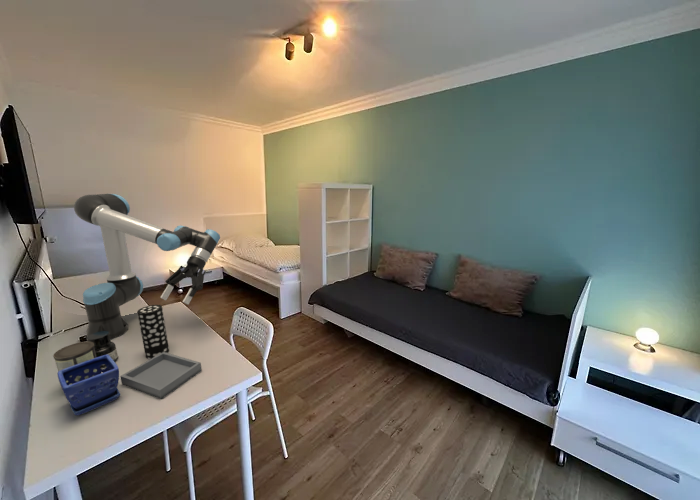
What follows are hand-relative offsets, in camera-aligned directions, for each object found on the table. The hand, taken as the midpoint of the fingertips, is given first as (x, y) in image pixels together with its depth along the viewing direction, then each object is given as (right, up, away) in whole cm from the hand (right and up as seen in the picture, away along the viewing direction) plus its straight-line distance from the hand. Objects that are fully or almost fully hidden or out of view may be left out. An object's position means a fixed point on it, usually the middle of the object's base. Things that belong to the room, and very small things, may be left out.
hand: (174, 301), depth 126 cm
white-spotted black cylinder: (-4, -21, -5) cm, 22 cm away
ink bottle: (-21, -23, -11) cm, 33 cm away
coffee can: (-18, -26, -24) cm, 39 cm away
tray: (+8, -24, -20) cm, 33 cm away
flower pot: (-7, -27, -31) cm, 42 cm away
